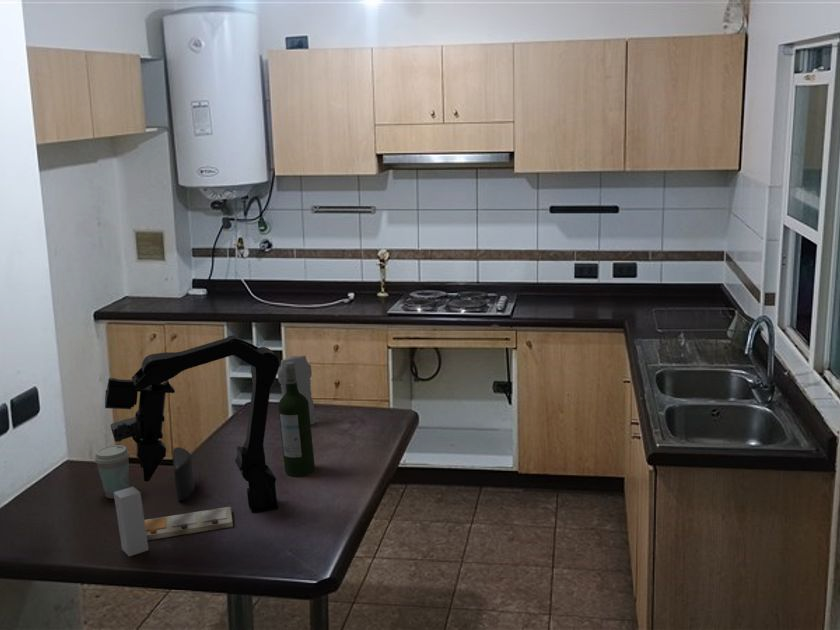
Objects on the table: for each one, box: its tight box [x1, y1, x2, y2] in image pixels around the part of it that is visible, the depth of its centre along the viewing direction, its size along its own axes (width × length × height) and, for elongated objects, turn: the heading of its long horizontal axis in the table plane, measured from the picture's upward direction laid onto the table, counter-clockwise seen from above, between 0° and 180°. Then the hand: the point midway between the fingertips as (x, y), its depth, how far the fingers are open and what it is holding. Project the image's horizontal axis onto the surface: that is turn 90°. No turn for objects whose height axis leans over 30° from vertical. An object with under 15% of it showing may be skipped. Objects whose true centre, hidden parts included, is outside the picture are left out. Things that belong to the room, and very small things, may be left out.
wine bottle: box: [277, 361, 316, 477], centre depth 256 cm, size 8×8×30 cm
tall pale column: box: [277, 355, 316, 426], centre depth 291 cm, size 11×4×22 cm, turn 118°
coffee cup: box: [94, 444, 130, 500], centre depth 251 cm, size 9×9×12 cm
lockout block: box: [114, 486, 149, 557], centre depth 219 cm, size 4×4×14 cm
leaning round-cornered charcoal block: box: [172, 447, 196, 502], centre depth 251 cm, size 16×5×9 cm, turn 15°
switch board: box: [144, 506, 234, 541], centre depth 231 cm, size 22×9×2 cm, turn 103°
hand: (144, 474), depth 227 cm, fingers open, 9 cm apart
